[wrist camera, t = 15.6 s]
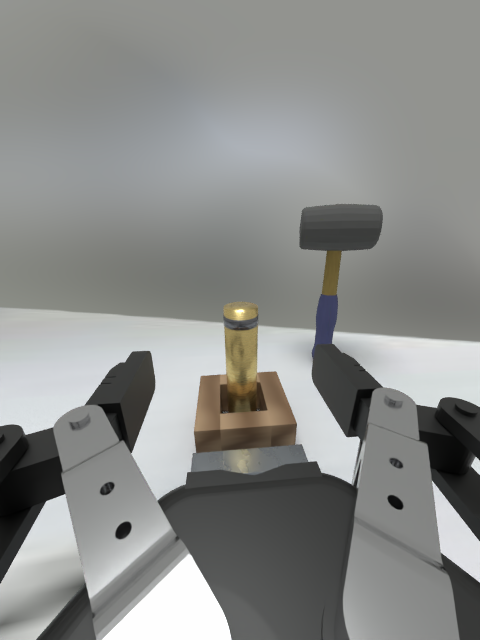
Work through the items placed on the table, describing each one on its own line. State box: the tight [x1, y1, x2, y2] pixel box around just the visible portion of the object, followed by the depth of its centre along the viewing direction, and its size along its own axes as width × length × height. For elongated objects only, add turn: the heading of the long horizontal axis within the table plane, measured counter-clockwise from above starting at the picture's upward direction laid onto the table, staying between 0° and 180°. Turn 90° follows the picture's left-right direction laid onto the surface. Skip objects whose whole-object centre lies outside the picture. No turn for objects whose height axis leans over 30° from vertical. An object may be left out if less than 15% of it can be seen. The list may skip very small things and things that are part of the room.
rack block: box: [194, 372, 297, 453], centre depth 34 cm, size 12×11×5 cm
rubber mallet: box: [300, 204, 383, 359], centre depth 45 cm, size 12×8×30 cm, turn 79°
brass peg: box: [224, 302, 258, 413], centre depth 31 cm, size 4×4×18 cm
